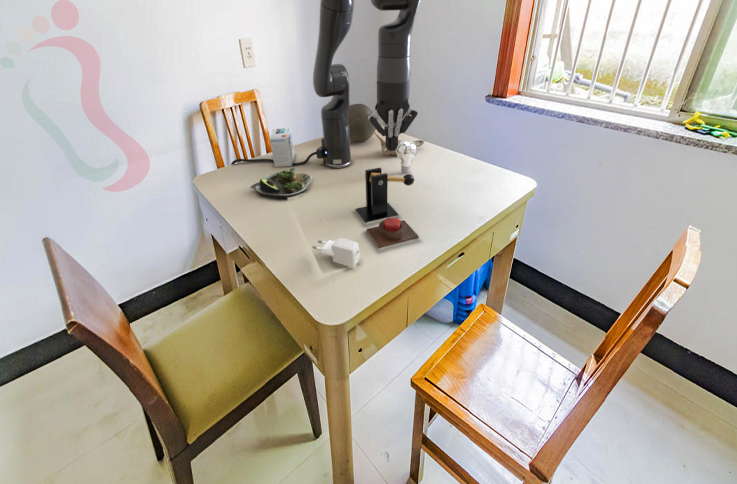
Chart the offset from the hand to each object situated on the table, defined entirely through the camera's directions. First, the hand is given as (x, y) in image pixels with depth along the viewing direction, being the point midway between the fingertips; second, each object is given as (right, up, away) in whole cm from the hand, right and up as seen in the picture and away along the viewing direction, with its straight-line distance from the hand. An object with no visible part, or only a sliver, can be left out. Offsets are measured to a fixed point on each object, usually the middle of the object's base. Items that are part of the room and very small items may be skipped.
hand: (391, 149), depth 95 cm
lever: (+1, -8, +8) cm, 11 cm away
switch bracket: (-3, -16, +12) cm, 20 cm away
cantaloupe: (-10, +18, +61) cm, 64 cm away
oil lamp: (+6, +11, +50) cm, 51 cm away
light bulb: (+7, 0, +34) cm, 35 cm away
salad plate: (-34, -6, +28) cm, 44 cm away
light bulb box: (-37, +7, +46) cm, 59 cm away
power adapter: (-13, -28, -5) cm, 31 cm away
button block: (0, -22, +3) cm, 22 cm away
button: (0, -20, +1) cm, 20 cm away
